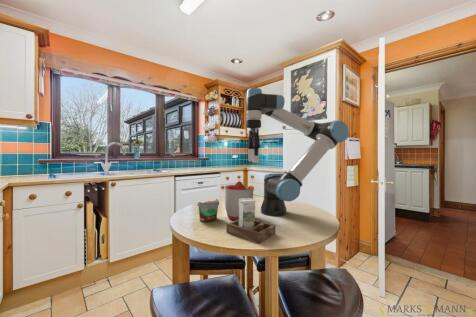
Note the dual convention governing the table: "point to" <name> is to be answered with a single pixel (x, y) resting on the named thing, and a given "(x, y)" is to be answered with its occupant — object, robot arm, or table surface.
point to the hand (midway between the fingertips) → (253, 161)
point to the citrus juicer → (236, 198)
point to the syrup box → (246, 213)
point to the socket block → (252, 231)
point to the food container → (208, 211)
